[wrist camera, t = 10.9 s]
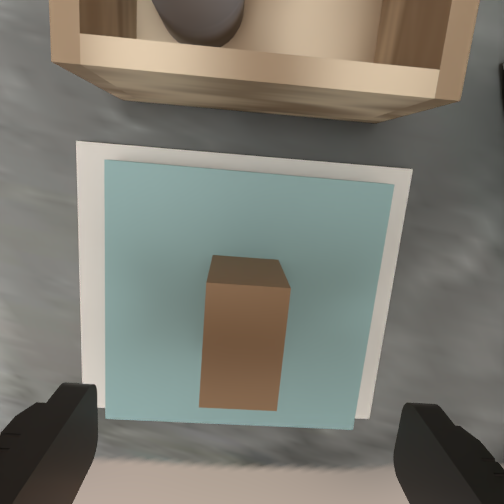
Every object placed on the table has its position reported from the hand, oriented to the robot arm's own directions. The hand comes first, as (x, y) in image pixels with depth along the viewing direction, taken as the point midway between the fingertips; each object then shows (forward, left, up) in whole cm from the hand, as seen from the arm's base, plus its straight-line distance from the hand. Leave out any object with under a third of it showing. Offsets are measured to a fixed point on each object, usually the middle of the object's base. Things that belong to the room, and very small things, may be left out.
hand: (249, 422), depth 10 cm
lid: (0, 0, -10) cm, 10 cm away
